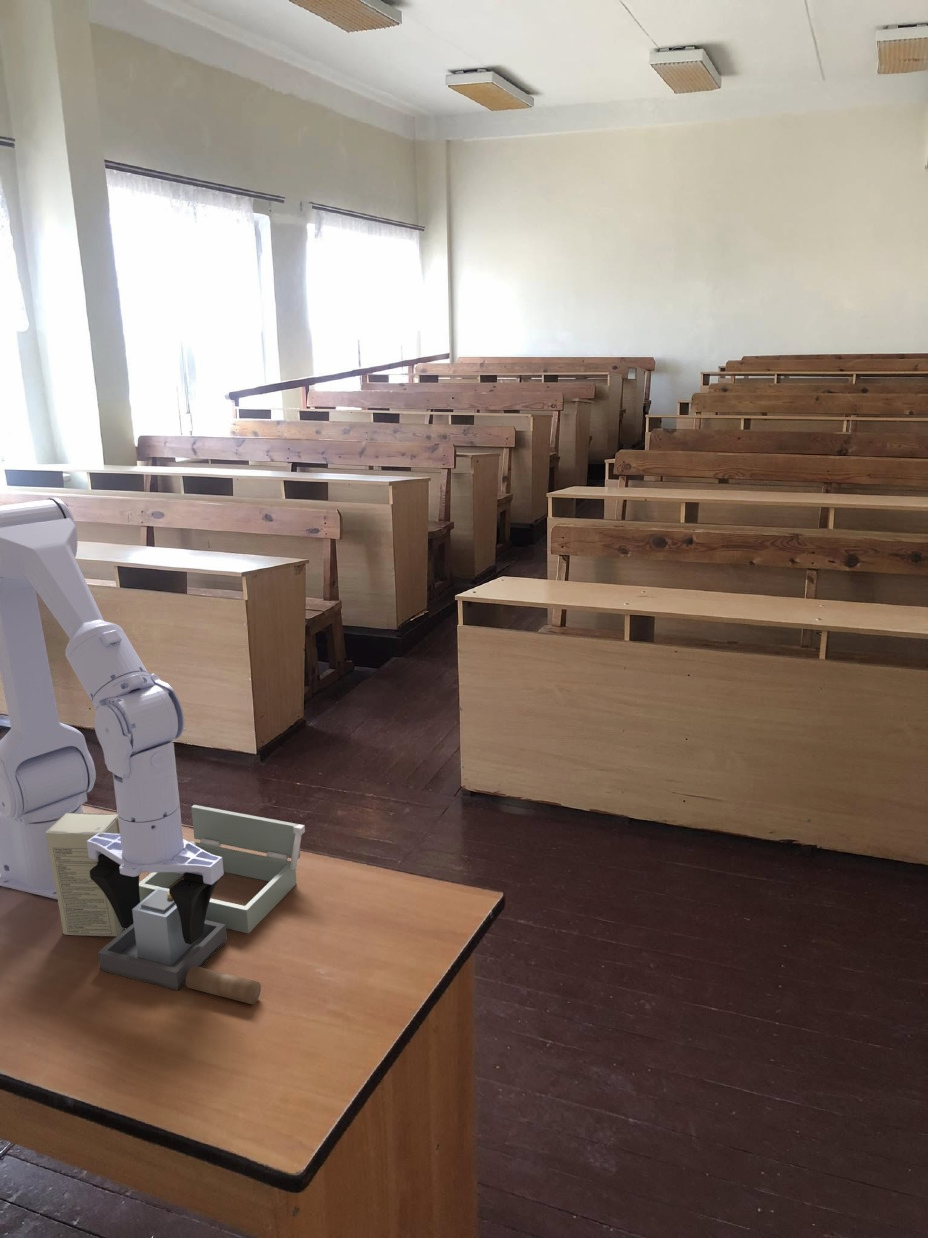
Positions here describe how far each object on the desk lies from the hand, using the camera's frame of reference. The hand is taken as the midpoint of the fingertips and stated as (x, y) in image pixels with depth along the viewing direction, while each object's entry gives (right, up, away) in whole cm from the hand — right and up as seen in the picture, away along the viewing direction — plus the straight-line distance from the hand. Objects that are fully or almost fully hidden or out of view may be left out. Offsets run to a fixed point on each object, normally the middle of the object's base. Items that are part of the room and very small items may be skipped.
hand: (162, 930), depth 94 cm
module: (0, -2, +1) cm, 3 cm away
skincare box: (-9, -2, +6) cm, 11 cm away
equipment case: (+3, 0, +11) cm, 11 cm away
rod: (+7, -4, -5) cm, 10 cm away
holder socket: (0, -3, +1) cm, 3 cm away
